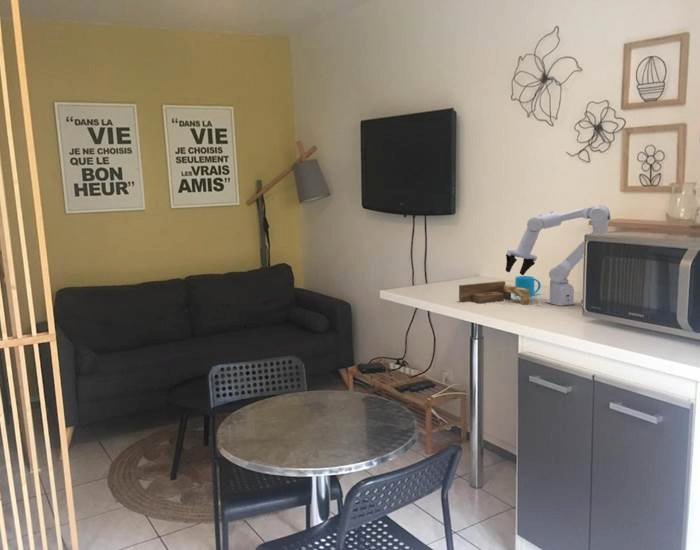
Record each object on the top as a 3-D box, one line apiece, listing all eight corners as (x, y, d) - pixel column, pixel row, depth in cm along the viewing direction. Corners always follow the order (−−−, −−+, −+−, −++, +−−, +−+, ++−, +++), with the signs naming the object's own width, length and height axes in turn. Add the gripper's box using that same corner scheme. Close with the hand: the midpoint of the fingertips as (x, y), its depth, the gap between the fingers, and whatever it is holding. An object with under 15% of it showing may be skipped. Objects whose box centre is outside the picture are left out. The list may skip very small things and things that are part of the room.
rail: (529, 303, 262) (529, 289, 261) (523, 304, 261) (523, 290, 260) (509, 298, 275) (509, 284, 274) (503, 298, 274) (503, 285, 273)
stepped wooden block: (513, 299, 271) (513, 283, 270) (469, 304, 263) (469, 288, 262) (502, 296, 279) (502, 281, 278) (459, 301, 271) (459, 285, 270)
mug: (521, 297, 275) (521, 279, 274) (511, 294, 283) (511, 276, 282) (545, 295, 278) (545, 277, 277) (535, 292, 286) (535, 274, 285)
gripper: (535, 243, 272) (522, 271, 276) (508, 237, 266) (495, 266, 270) (544, 249, 266) (531, 278, 270) (517, 243, 260) (504, 273, 264)
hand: (514, 272), depth 270 cm, fingers open, 7 cm apart
